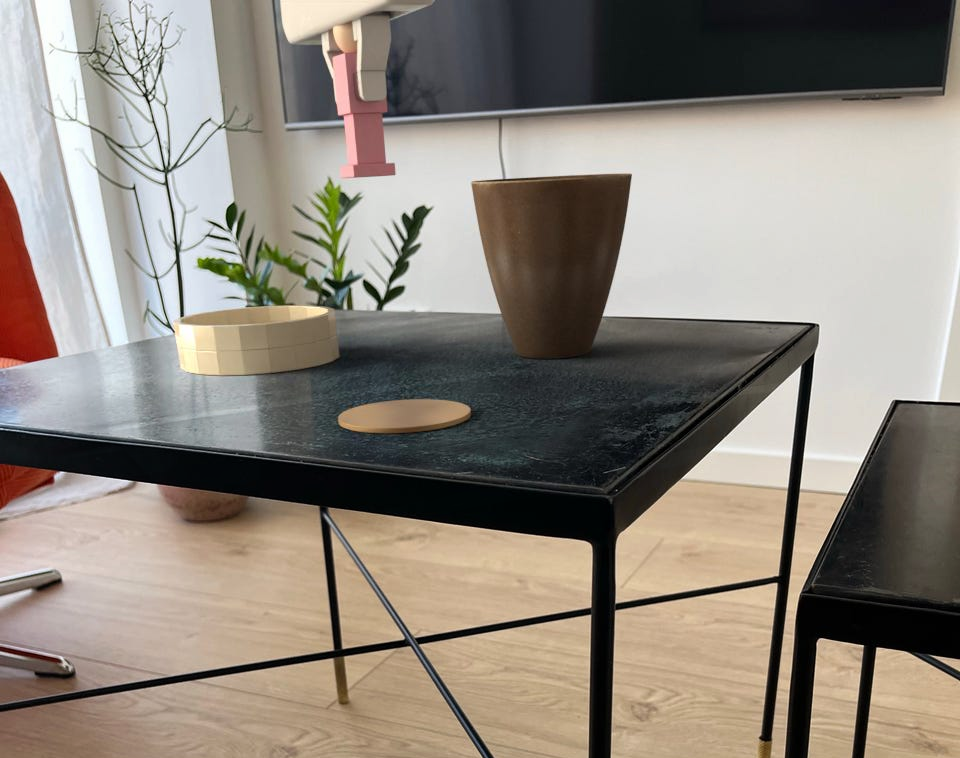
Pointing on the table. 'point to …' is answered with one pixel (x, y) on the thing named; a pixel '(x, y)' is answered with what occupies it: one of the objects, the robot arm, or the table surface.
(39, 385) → the table surface
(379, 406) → the mat
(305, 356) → the basin
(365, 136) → the doll
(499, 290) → the flower pot
